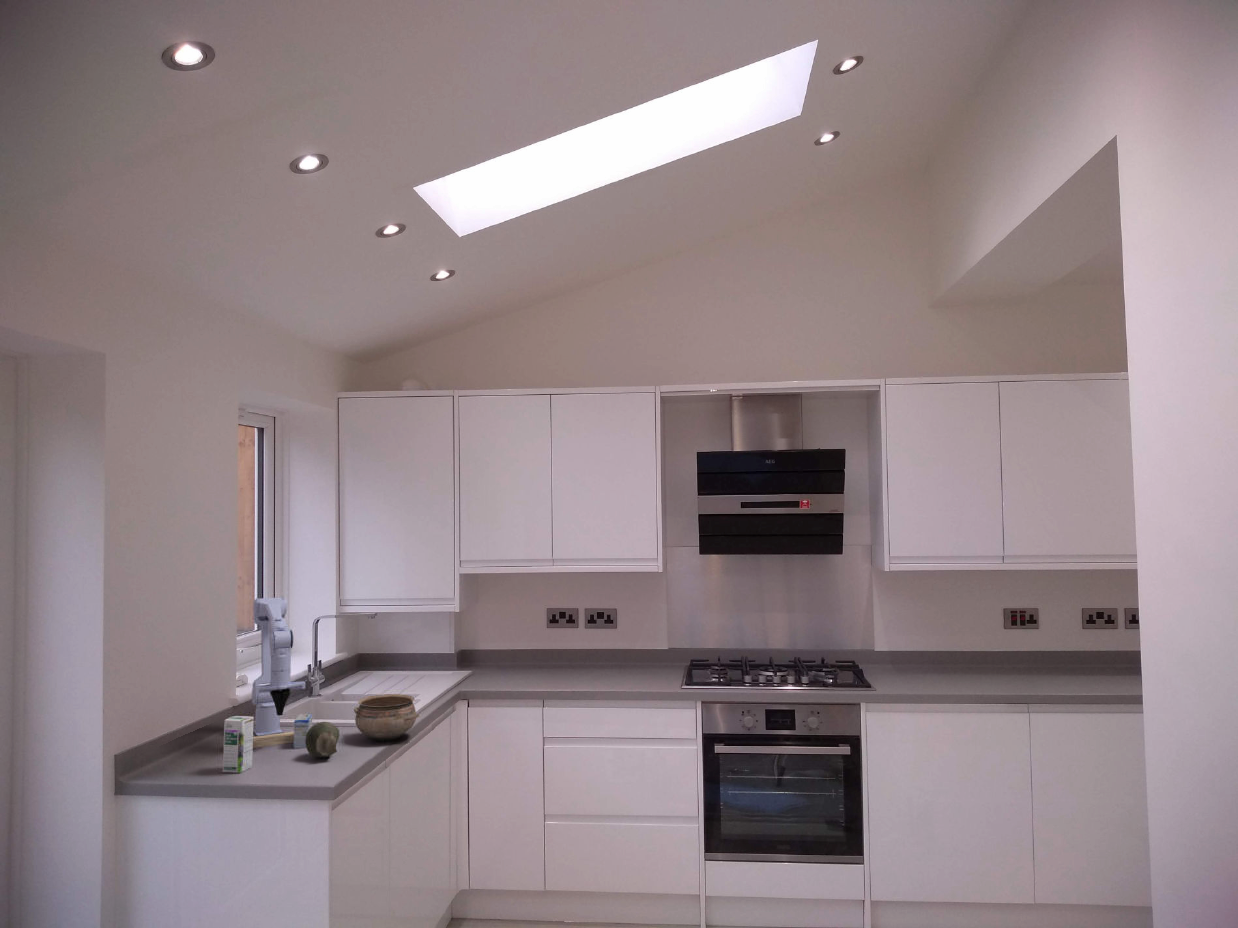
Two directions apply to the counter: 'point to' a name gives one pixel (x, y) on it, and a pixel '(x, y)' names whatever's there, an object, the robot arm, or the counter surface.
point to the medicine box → (301, 729)
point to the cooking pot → (385, 716)
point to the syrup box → (238, 744)
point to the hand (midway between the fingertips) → (279, 714)
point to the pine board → (272, 739)
